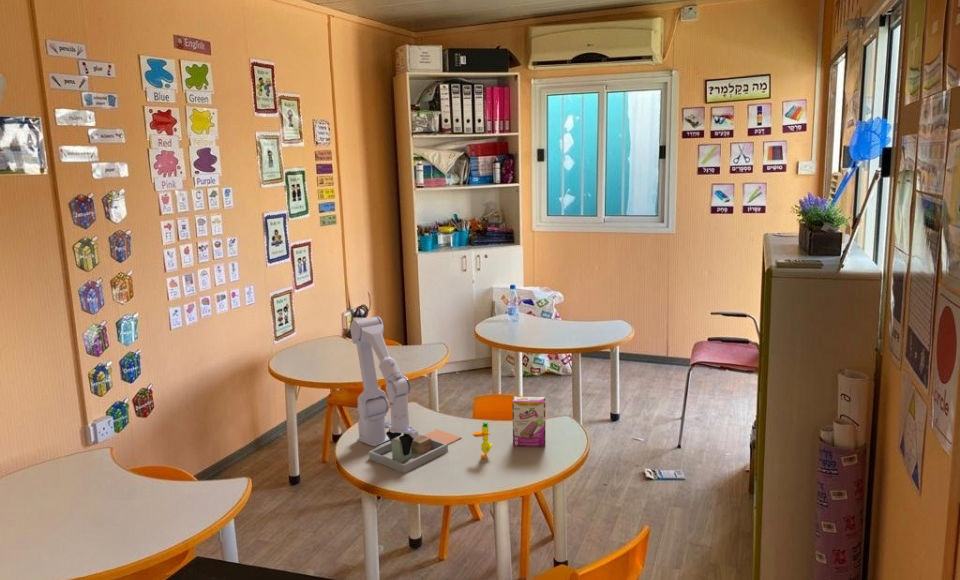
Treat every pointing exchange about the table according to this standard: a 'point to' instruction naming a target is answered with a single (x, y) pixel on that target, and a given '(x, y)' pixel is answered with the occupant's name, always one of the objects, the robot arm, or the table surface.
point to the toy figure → (484, 439)
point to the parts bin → (377, 456)
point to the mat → (442, 436)
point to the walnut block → (421, 444)
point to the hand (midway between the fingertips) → (401, 452)
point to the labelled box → (399, 450)
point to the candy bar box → (529, 421)
